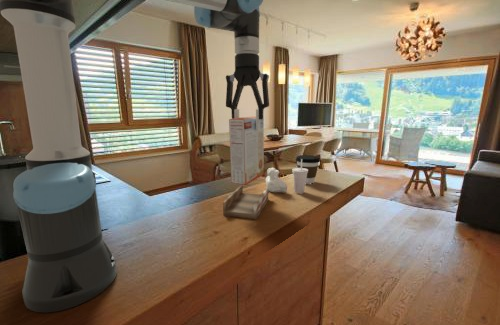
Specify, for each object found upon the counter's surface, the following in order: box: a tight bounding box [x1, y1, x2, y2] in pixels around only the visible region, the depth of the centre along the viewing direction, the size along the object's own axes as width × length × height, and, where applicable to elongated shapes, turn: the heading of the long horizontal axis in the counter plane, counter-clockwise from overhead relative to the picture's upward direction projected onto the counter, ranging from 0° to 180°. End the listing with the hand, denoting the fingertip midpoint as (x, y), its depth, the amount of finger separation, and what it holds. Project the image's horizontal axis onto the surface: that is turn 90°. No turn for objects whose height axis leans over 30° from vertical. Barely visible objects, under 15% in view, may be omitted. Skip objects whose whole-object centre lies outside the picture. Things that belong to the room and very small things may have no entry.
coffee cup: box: [295, 154, 321, 185], centre depth 115 cm, size 11×11×12 cm
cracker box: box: [228, 116, 265, 186], centre depth 84 cm, size 14×6×21 cm, turn 152°
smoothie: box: [291, 159, 308, 195], centre depth 101 cm, size 6×6×14 cm
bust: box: [265, 166, 288, 194], centre depth 103 cm, size 12×8×11 cm
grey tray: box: [222, 184, 270, 220], centre depth 88 cm, size 18×11×5 cm, turn 164°
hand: (247, 129), depth 82 cm, fingers closed on cracker box, 6 cm apart
